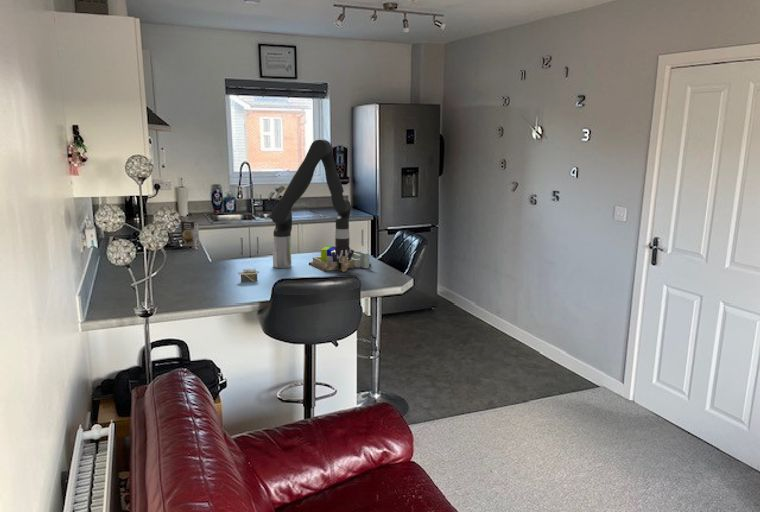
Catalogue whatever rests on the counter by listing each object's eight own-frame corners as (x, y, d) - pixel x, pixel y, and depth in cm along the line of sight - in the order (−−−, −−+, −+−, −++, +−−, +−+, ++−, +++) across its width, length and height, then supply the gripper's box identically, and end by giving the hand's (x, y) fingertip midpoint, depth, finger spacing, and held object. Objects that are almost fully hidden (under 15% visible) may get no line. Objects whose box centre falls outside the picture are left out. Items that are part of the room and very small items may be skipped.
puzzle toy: (338, 268, 304) (338, 250, 302) (321, 267, 306) (320, 249, 304) (343, 264, 314) (343, 247, 312) (326, 263, 316) (326, 246, 314)
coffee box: (181, 246, 362) (180, 221, 358) (186, 244, 368) (185, 219, 365) (195, 246, 360) (193, 221, 357) (199, 244, 367) (198, 220, 363)
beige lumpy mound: (331, 273, 294) (331, 258, 292) (312, 264, 313) (312, 250, 311) (358, 269, 302) (358, 255, 301) (338, 261, 321) (338, 247, 320)
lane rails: (323, 271, 298) (323, 269, 298) (308, 264, 314) (308, 262, 314) (371, 265, 313) (371, 263, 313) (354, 259, 329) (354, 257, 329)
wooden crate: (269, 284, 274) (269, 270, 272) (231, 286, 268) (231, 273, 266) (266, 278, 285) (265, 265, 283) (229, 280, 279) (228, 267, 278)
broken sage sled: (359, 268, 304) (359, 254, 302) (340, 261, 322) (340, 247, 321) (373, 267, 309) (374, 252, 307) (354, 259, 327) (354, 246, 325)
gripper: (333, 239, 290) (333, 271, 294) (357, 236, 297) (357, 268, 301) (327, 236, 296) (327, 268, 300) (350, 234, 304) (350, 266, 307)
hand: (342, 268), depth 300 cm, fingers closed on beige lumpy mound, 2 cm apart
